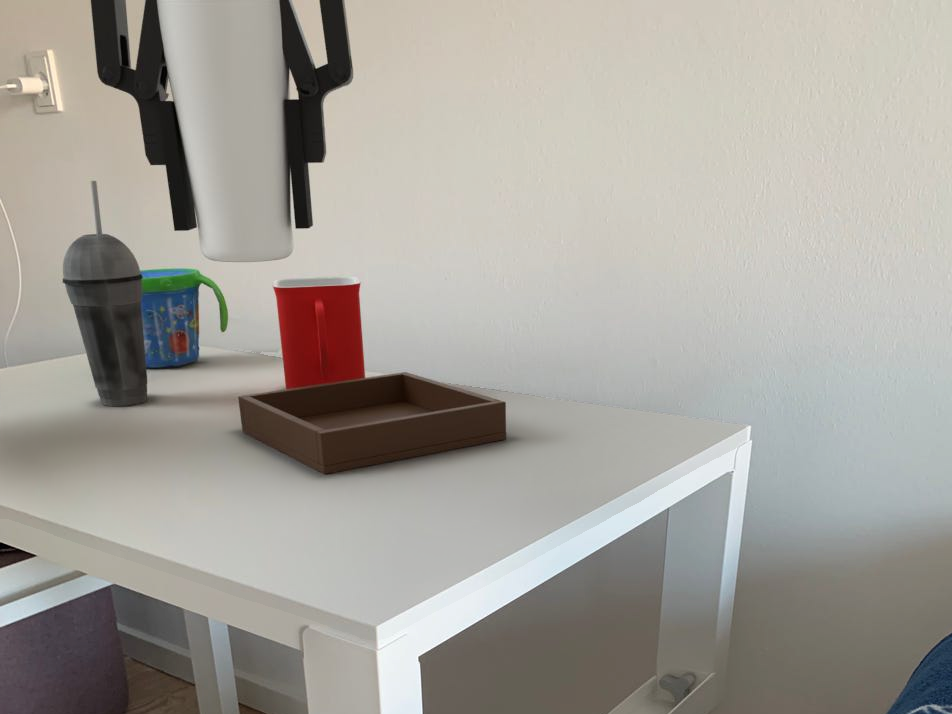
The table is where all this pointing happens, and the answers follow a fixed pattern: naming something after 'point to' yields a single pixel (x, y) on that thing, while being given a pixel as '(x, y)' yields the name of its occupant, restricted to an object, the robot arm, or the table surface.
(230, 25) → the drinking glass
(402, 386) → the serving tray
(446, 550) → the table surface
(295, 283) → the mug
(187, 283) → the snack cup
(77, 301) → the beverage cup
